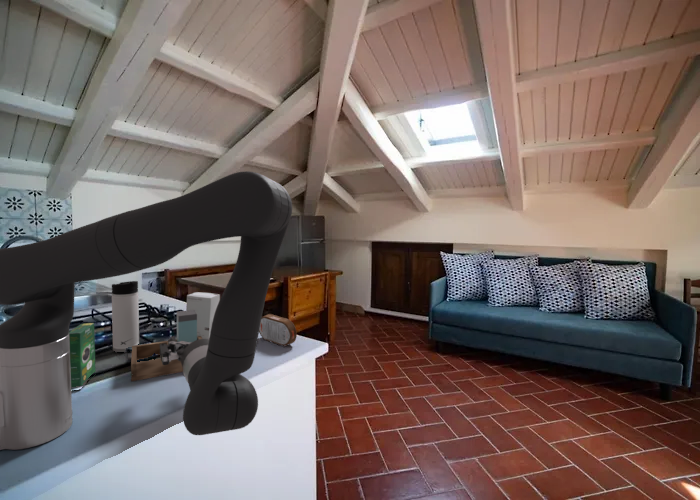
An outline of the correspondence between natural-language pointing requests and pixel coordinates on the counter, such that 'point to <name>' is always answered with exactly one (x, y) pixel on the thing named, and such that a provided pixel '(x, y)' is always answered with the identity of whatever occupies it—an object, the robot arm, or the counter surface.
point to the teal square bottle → (186, 326)
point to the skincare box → (203, 311)
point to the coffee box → (82, 353)
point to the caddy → (151, 362)
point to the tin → (277, 330)
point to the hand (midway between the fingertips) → (193, 337)
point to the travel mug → (125, 315)
